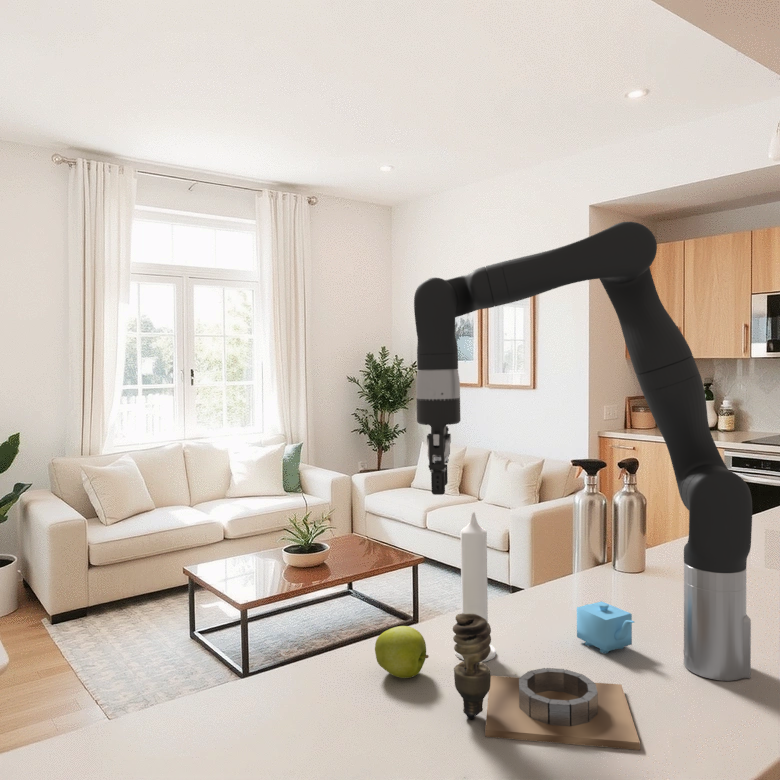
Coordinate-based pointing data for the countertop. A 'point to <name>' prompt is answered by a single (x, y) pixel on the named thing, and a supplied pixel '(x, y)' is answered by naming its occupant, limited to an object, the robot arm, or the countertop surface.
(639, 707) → the countertop surface
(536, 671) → the ring seat
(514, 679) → the board
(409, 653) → the apple
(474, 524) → the candle
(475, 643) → the light bulb
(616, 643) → the teapot
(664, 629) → the countertop surface
